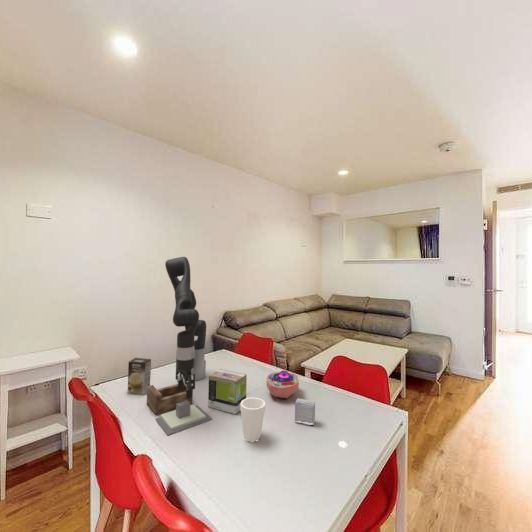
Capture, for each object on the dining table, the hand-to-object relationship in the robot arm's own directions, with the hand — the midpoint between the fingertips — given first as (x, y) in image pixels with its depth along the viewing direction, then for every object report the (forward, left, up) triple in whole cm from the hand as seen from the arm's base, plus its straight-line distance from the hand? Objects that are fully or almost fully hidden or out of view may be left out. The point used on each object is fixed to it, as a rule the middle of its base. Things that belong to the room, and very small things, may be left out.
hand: (184, 394), depth 119 cm
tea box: (-20, +2, -10) cm, 23 cm away
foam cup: (-15, +28, -10) cm, 33 cm away
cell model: (-48, +9, -10) cm, 50 cm away
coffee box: (+8, -37, -10) cm, 39 cm away
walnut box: (+1, -15, -10) cm, 18 cm away
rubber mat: (+1, +1, -10) cm, 10 cm away
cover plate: (+1, 0, -10) cm, 10 cm away
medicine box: (-39, +33, -10) cm, 52 cm away
